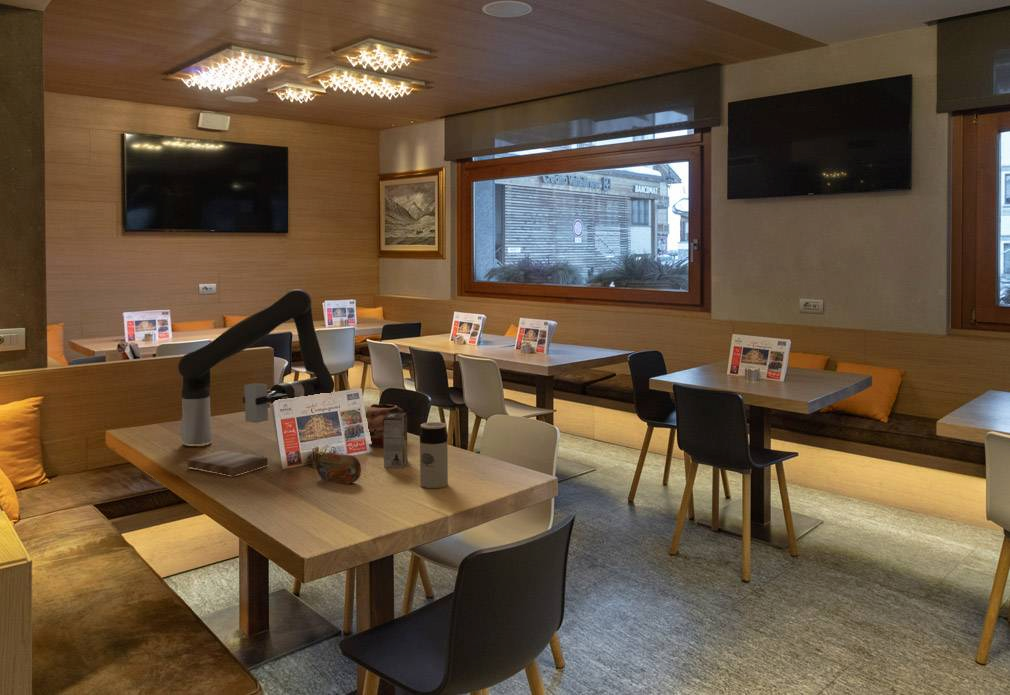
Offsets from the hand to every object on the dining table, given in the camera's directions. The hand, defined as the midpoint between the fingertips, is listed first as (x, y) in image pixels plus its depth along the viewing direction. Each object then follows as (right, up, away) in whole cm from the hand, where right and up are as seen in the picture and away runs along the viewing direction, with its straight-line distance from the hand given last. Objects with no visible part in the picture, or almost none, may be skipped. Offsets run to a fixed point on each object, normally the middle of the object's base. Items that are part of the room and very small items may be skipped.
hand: (250, 401), depth 252 cm
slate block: (+1, -7, +3) cm, 7 cm away
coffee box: (+48, -20, -2) cm, 52 cm away
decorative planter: (+40, -17, +27) cm, 51 cm away
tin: (+34, -23, -22) cm, 46 cm away
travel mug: (+62, -23, -26) cm, 71 cm away
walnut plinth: (-5, -21, -7) cm, 22 cm away
